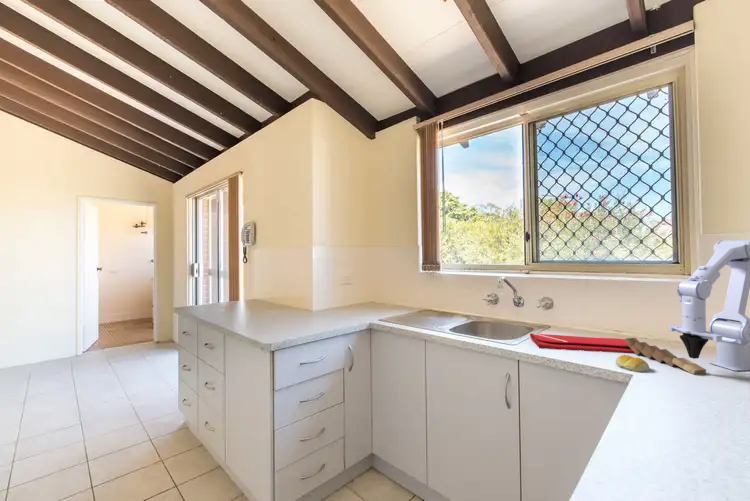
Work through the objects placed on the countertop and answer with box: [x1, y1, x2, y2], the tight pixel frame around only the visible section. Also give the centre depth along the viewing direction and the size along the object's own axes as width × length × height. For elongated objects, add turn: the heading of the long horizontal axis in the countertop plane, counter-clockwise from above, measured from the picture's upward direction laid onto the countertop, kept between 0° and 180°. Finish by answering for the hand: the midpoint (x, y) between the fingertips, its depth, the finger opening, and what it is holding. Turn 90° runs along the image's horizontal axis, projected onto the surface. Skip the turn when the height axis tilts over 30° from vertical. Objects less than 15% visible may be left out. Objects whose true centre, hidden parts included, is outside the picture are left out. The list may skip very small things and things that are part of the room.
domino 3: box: [644, 345, 667, 364], centre depth 120 cm, size 4×2×7 cm
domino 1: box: [624, 337, 645, 356], centre depth 128 cm, size 4×2×7 cm
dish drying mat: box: [529, 332, 635, 354], centre depth 139 cm, size 16×41×4 cm, turn 78°
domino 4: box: [654, 348, 680, 368], centre depth 116 cm, size 4×2×7 cm
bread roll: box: [615, 354, 650, 373], centre depth 113 cm, size 8×9×4 cm
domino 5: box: [672, 357, 707, 376], centre depth 110 cm, size 4×2×7 cm
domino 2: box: [634, 341, 656, 360], centre depth 124 cm, size 4×2×7 cm
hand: (693, 357), depth 108 cm, fingers closed
